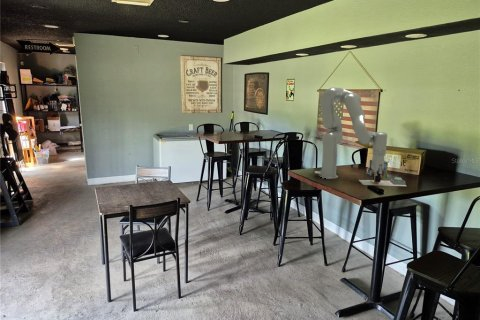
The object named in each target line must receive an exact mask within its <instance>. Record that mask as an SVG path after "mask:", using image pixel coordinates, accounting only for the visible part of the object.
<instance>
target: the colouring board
mask: <svg viewBox="0 0 480 320" xmlns="http://www.w3.org/2000/svg"><path fill="white" fill-rule="evenodd" d="M389 179H390V180H380V182H379V183H374V180H373V179H370V180H369V179H358V181H359V182H360V183H361V185H364V186H390V187H392V186H393V187H396V186H397V187H407V185H406V181H405V180H404V179H402V182H401V181H394V178H389Z"/></svg>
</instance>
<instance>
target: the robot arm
mask: <svg viewBox="0 0 480 320" xmlns="http://www.w3.org/2000/svg"><path fill="white" fill-rule="evenodd" d="M334 102H340V103H343V104H344V106H345V108H346V110H347V112H348V114H349V117H350V119H351V125H352V128H353V132H354V134H355V136H356V138H357V140H358V142H359V143H360V144H362V145H367V144H370V143H371V144H372V145H373V146H372V158H371V160H372V164H371V168H372V169H373V170H374V172H373V177H372V180H374V174H375V171H376V176H375V182H380V181H382V180H381V179H382V178H381V173H382V171H383V169H384V161H385V156H386V153H387V143H388V134H387V132H382V131H381V132H380V131H379V132H377V131H372V130H368V128H367V126H366V123H365V118H366V113H365V111H364V109H363V107H362V105H361V103H362V98H361V95H360V94H358V93H356V92H352V91H349V90H347V89H344V88H342V87H329V88H328V89H326V90H325V91H324V92H323V93H322V94H321V97H320V111H321V119H322V123H321V124H322V125H323V126H322V127H324V129H326V130H328V131H327V132H325V133H324V134H323V136H322V138H321V140H322V141H321V142H322V157H321V158H322V159H321V160H322V162H321V169H320V170H314V175H315V174H316V175H318V177H319V176H320V177H322V178H321V179H324V178H326V179H325V180H333V179H337V178H338V177H339V176H338V175H337V163H338V161H337V159H338V144H339V143H341V142H342V140H343V124H342V120H341V117H340V116H339V115H337V114H336V111H335V110H336V109H335V104H334ZM378 170H379V171H378ZM377 172H378V173H377ZM320 177H319V178H320Z"/></svg>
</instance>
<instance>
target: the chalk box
mask: <svg viewBox="0 0 480 320" xmlns="http://www.w3.org/2000/svg"><path fill="white" fill-rule="evenodd" d="M371 164H372V159H370V160H369V170H368V176H370V177H372V178H373V172H374V170H373V169H372V168H371ZM388 164H389V162H388V161H386V160H384V169H383V171H382V173H381V179H382V178H383V179H385V178H386V179H387V178H388V167H389V166H388Z"/></svg>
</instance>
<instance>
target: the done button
mask: <svg viewBox="0 0 480 320" xmlns="http://www.w3.org/2000/svg"><path fill="white" fill-rule="evenodd" d="M393 179H394V181H401V182H402V180H403V179H402V177H400V176H399V177H397V176H395V177H394V178H393Z"/></svg>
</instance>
